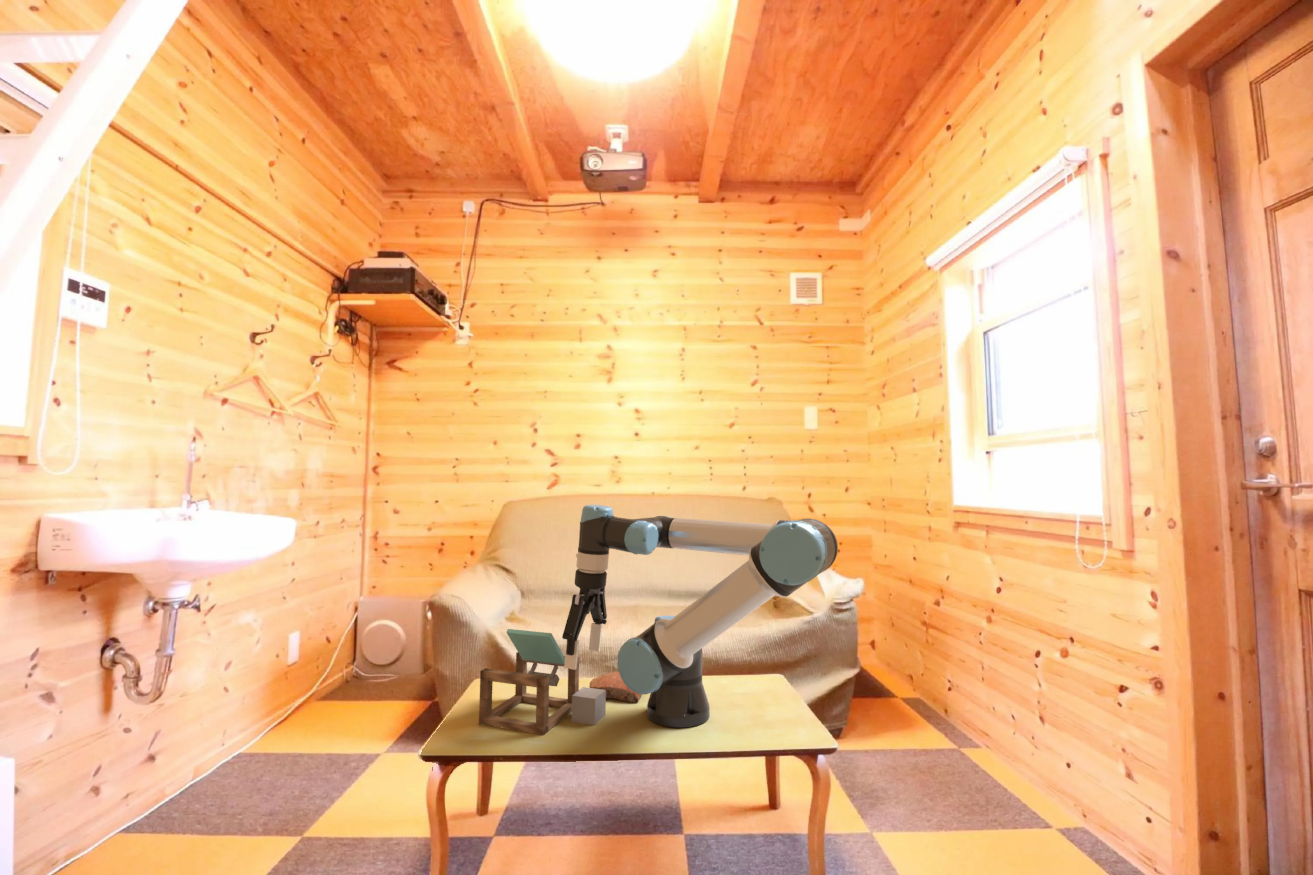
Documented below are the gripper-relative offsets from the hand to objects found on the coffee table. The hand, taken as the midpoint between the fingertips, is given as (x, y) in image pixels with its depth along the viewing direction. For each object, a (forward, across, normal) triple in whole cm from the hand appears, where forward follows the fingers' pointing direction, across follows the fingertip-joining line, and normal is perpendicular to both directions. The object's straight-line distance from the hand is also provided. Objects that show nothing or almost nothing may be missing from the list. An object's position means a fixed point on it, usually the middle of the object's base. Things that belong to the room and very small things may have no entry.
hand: (582, 658), depth 135 cm
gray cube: (+14, -1, +3) cm, 14 cm away
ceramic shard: (+15, -19, +3) cm, 24 cm away
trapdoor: (+4, +2, -12) cm, 13 cm away
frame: (+15, +2, -11) cm, 19 cm away
